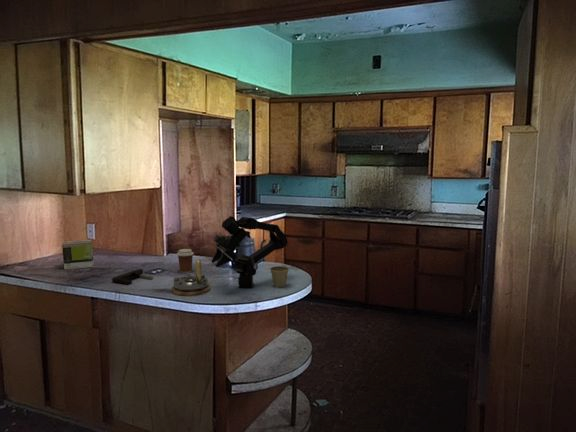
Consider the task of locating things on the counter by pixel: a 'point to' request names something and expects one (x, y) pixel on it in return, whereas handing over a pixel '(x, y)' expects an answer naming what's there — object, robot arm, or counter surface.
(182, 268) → the coffee cup
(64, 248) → the tea box
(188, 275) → the ring nut
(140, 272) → the door handle
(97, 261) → the counter surface
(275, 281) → the flower pot
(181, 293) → the base
